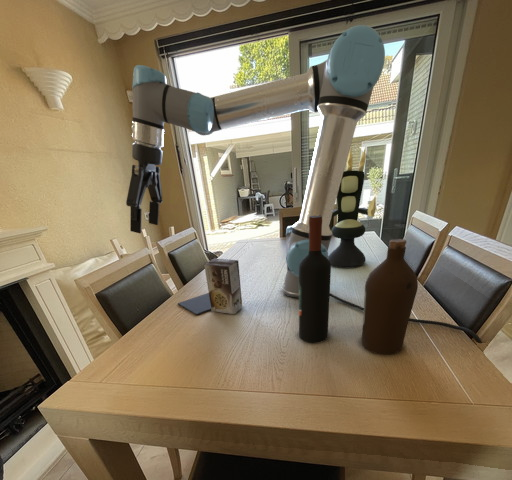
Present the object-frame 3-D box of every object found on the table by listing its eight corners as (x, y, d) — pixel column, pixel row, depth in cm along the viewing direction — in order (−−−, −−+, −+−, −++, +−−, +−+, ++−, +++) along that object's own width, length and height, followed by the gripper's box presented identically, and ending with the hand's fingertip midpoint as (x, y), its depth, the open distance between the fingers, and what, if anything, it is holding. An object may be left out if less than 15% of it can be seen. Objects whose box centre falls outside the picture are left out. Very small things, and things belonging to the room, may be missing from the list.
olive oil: (410, 341, 72) (433, 236, 59) (396, 361, 65) (418, 248, 53) (368, 330, 78) (381, 233, 66) (351, 347, 72) (361, 244, 59)
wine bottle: (310, 346, 74) (312, 220, 59) (293, 334, 80) (291, 217, 65) (333, 337, 77) (341, 215, 62) (315, 326, 83) (318, 212, 68)
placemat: (237, 299, 105) (237, 298, 105) (196, 315, 96) (196, 314, 96) (217, 291, 115) (217, 289, 114) (178, 304, 106) (177, 303, 106)
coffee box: (243, 306, 99) (239, 259, 90) (234, 315, 94) (229, 266, 85) (220, 302, 102) (214, 257, 94) (210, 310, 97) (203, 263, 89)
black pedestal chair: (324, 270, 126) (328, 146, 103) (322, 256, 145) (326, 149, 122) (369, 268, 123) (384, 140, 100) (362, 255, 141) (373, 144, 119)
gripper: (151, 144, 87) (148, 218, 98) (110, 137, 66) (112, 232, 77) (176, 151, 88) (170, 223, 98) (143, 146, 66) (140, 239, 77)
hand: (145, 227), depth 88 cm, fingers open, 13 cm apart
